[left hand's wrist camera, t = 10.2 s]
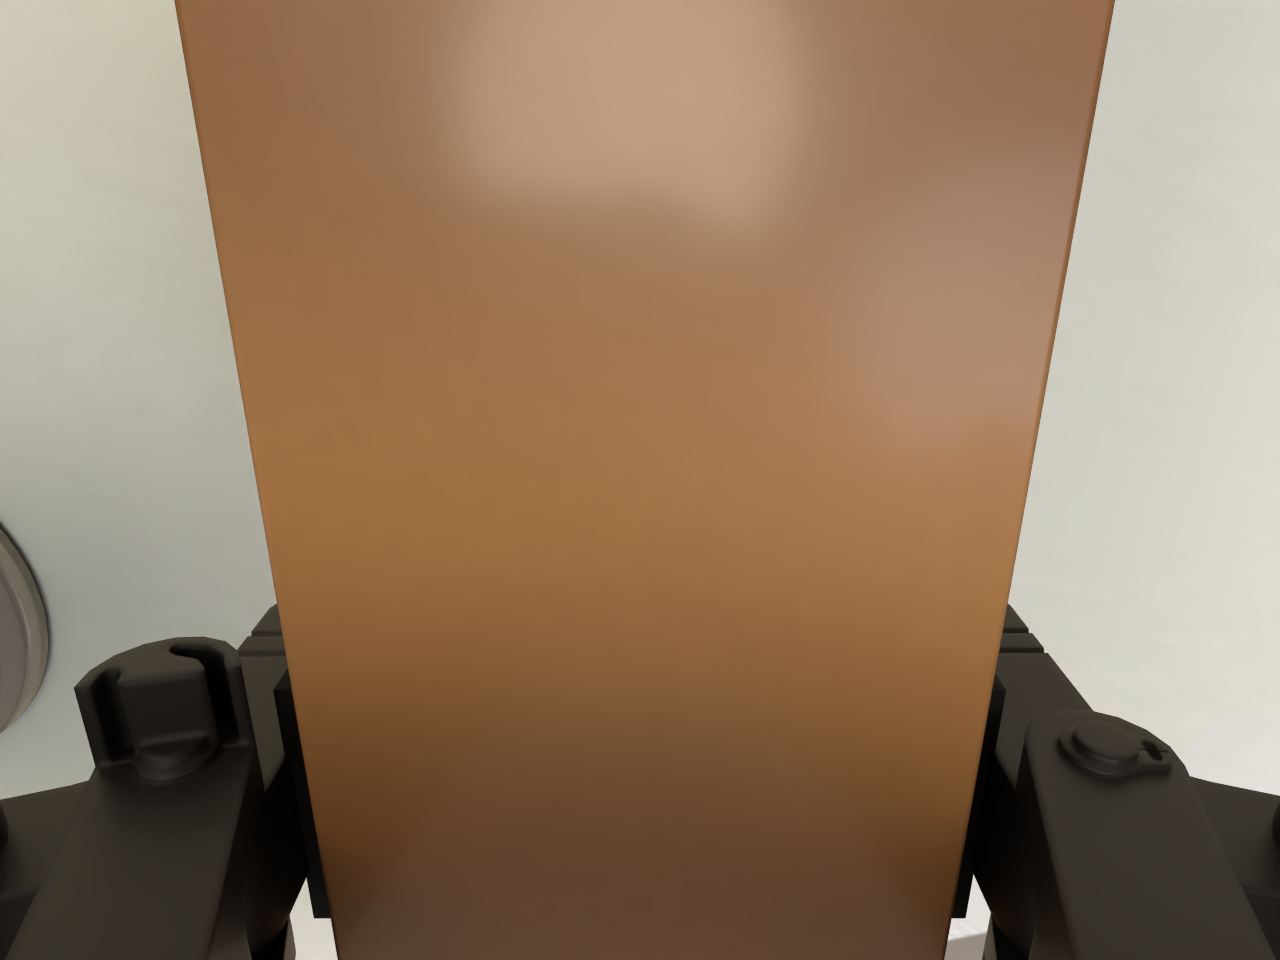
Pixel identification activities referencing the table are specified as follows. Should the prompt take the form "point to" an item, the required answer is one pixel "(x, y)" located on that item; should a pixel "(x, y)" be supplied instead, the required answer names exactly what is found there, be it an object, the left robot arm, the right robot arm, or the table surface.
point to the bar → (642, 445)
